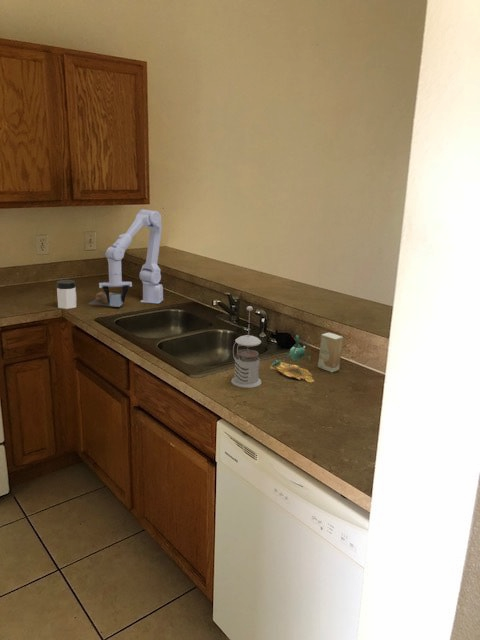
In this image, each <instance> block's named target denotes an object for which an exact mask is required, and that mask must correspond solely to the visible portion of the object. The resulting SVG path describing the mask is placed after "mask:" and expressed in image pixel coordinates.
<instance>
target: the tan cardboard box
mask: <svg viewBox="0 0 480 640" xmlns="http://www.w3.org/2000/svg"><path fill="white" fill-rule="evenodd" d="M95 299H96V298H95ZM96 303H103V304H109V303H108V300H104V299H96Z"/></svg>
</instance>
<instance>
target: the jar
mask: <svg viewBox="0 0 480 640" xmlns="http://www.w3.org/2000/svg"><path fill="white" fill-rule="evenodd" d="M56 294H57V295H56V296H57V297H56V298H57V308H58V309H65V310H68V309H74V308H77V288H76V281H75V280H72V279H61V280H57V281H56Z"/></svg>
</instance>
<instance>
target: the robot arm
mask: <svg viewBox="0 0 480 640" xmlns="http://www.w3.org/2000/svg"><path fill="white" fill-rule="evenodd" d="M162 218H163V217H162V214H160V212H158V211H157V210H149V209H140V210H139V212H138V213H136V216H135V219H134V221H133V222H132V224H131V225H130V226H129V228H128V229H127V230H126V232H125V233H121V234H119V235H118V238H117V239H116V240H115V241H114V243H113V244H112V246H109V247H108V248H107V249H106V251H105V253H104V256H105V257H106V259H107V263H108V281H107V282H106V281H104V282H98V287H99V289H103V292H105V294H106V296H107V300H108V303H110V299H109V293H110V288H122V293H121V294H122V301H123V303H125V300H126V297H127V293H128V291H129V290H130V288H131V287H133V282H132V281H123V278H122V277H123V276H122V275H123V274H122V259H124V256H125V253H126V250H127V249H128V247H129V246H130V245H131V244H132V242H133V238H134V236H135V235H136V234H137V233H138V232H139V231H140V230H141V229H142V227H147V229H148V230H149V234H148V235H149V237H148V243H147V251H146V258H145V259H146V260H145V263H144V264H143V265H142V266H141V270H140V272H139V279H140V280H141V283H142V299H141V300H140V303H146V304H147V303H148V304H157V305H159V304H160V303H161V302H162V301H164V287H163V284H160V282H161V279H162V275H161V268H160V266H159V265H158V260H159V255H160V246H161V238H162V231H163V227H162ZM129 287H130V288H129Z"/></svg>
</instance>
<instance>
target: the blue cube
mask: <svg viewBox="0 0 480 640" xmlns="http://www.w3.org/2000/svg"><path fill="white" fill-rule="evenodd" d="M112 293H113V294H111V295H109V299H110V307H115V308H117V307H118V308H120V307H121V306H122V305H123V303H124V302H123V301H122V296H123V293H116V292H115V293H114V292H112Z"/></svg>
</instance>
